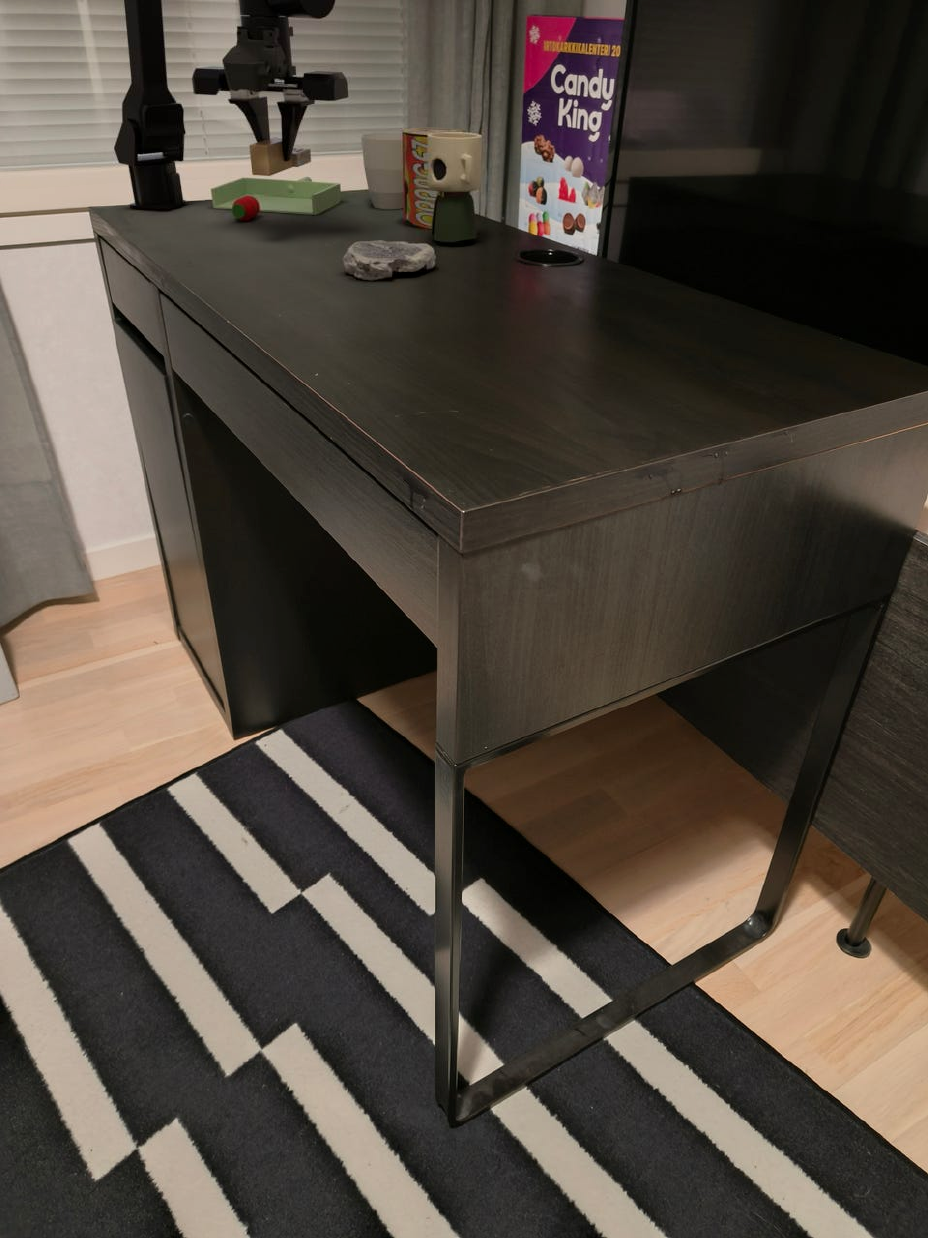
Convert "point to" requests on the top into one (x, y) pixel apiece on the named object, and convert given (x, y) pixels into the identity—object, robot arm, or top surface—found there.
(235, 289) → the top surface
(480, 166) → the character mug
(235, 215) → the strawberry
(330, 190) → the tray
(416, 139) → the beverage can
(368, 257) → the fossil
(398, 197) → the cup
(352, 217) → the top surface
